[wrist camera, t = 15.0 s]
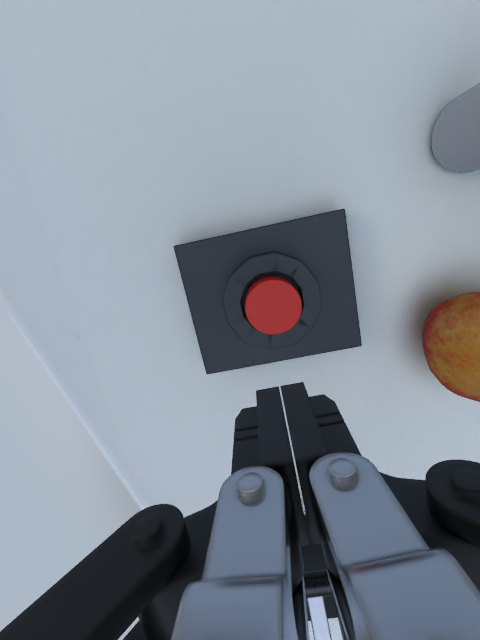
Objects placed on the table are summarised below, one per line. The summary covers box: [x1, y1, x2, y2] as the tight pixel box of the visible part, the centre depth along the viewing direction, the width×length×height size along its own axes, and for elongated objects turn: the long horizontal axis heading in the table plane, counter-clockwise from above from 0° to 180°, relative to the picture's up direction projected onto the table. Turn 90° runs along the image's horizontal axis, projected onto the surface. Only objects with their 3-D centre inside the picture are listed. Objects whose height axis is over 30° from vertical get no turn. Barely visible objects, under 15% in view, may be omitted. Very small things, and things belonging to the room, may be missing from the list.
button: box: [245, 276, 302, 335], centre depth 22 cm, size 4×4×2 cm
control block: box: [174, 209, 362, 374], centre depth 24 cm, size 12×10×4 cm
